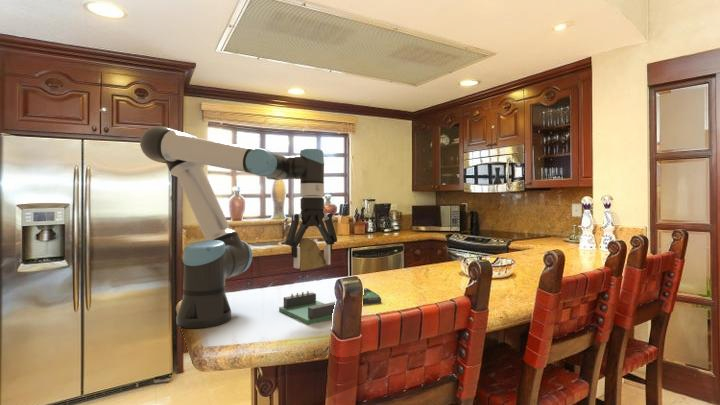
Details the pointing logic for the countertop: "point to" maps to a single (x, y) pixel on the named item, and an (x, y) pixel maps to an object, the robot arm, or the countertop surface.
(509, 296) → the countertop surface
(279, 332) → the countertop surface
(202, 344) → the countertop surface
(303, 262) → the rock
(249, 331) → the countertop surface
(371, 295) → the disk drive
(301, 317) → the socket board
